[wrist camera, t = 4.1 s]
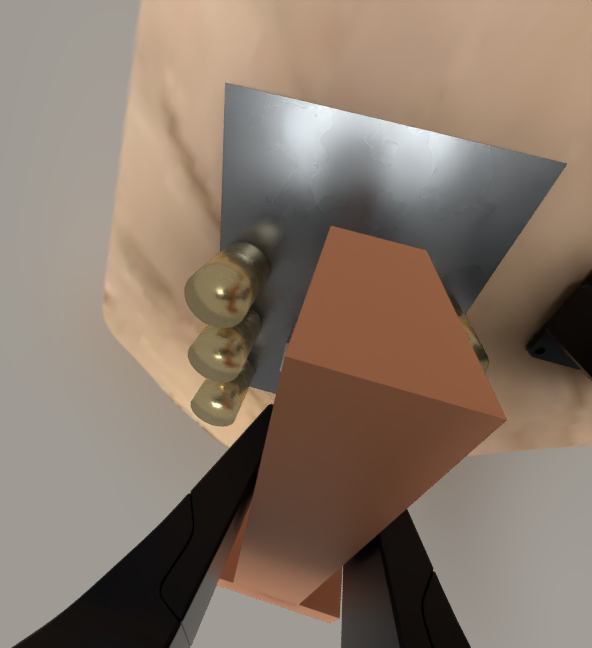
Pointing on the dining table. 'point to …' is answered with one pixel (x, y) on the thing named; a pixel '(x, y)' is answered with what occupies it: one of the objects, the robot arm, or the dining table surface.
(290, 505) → the copper l-bar
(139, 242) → the dining table surface
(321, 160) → the plate
